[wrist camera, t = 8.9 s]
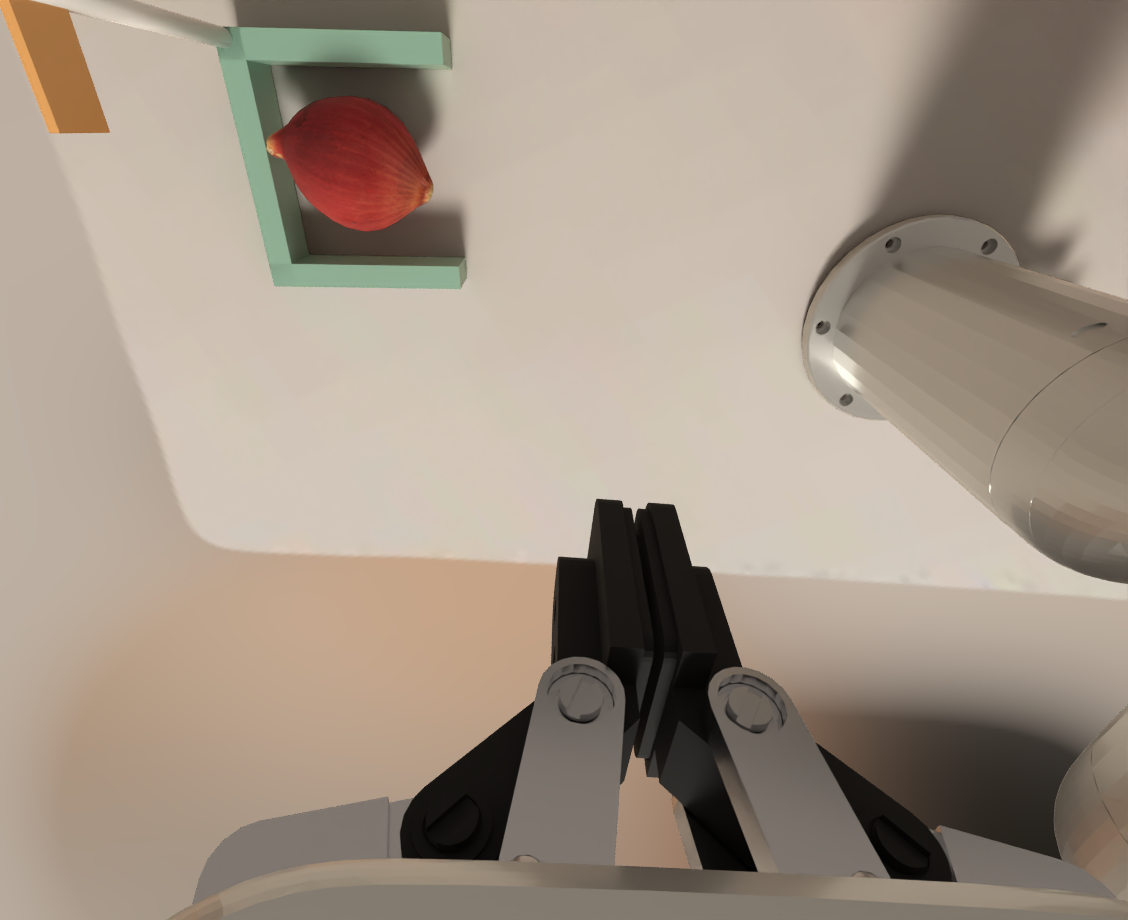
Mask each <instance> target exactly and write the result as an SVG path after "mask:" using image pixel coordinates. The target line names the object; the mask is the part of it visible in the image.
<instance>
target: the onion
mask: <svg viewBox="0 0 1128 920" xmlns="http://www.w3.org/2000/svg"><path fill="white" fill-rule="evenodd" d="M266 144H267V148H266V150H267V151H268V152H269V153H270V154H271V155H273V156H274V157H276V158H282V159H284V160H285V161H286V163H287V165H288V168H289V170H290V173H291V175H292V177H293V179H294V181H295V183H296V184H297V186H298V188H299V189H300V191H301V192H302V194H303V195H304V196H305V197H306V199H307V200H308V201H309V202H310V203H311V204H312V205H313V206H314V207H315V208H316V209H318V210H319V211H320V212H322V213H323V214H325V215H326V216H327V217H329V218H330V219H331V220H333V221H334V222H337V223H339V224H341V225H343V226H345V227H347V228H350V229H355V230H360V231H365V232H367V231H374V230H381V229H384V228H386V227H388V226H390V225H392V224H394V223H396V222H398V221H399V220H401V219H402V218H403V217H405V216H406V215H407V214H409V213H410V212H412V211H413V210H414V209H416V208H417V207H419V206H421V205H423V204H425V203H426V202H428V201H429V200H430V198H431V196H432V193H433V182H432V180H431V178H430V175H429V173H428V171H427V168H426V166H425V164H424V161H423V159H422V157H421V154H420V152H419V150H418V148H417V146H416V143H415V141H414V140H413V138H412V136H411V135H410V133H409V132H408V130H407V128H406V127H405V125H404V123H403V122H402V121H401V120H400V119H399V118H397V117H396V116H395V115H394V114H393V113H392V112H391V111H390V110H389V109H388V108H387V107H385V106H383V105H380V104H378V103H376V102H374V101H372V100H370V99H367V98H361V97H355V96H342V97H329V98H325V99H321V100H318V101H315V102H313V103H311V104H309V105H307V106H306V107H304V108H303V109H301V110H300V111H299V112H298V113H297V114H296V115H295V116H294V117H293V118H292V119H291V120H290V122H289V123H288V124H287V125H286V126H285V127H283V128H282V129H280V130H278V131H276V132H274V133H273V134H272V135H270V136H269V137H268V138H267V141H266Z"/></svg>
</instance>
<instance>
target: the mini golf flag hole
mask: <svg viewBox="0 0 1128 920" xmlns="http://www.w3.org/2000/svg"><path fill="white" fill-rule="evenodd" d="M0 8H1V10H2V13H3V15H4V18H5V20H6V23H7V25H8V28H9V31H10V33H11V36H12V38H13V41H14V43H15V46H16V48H17V51H18V54H19V56H20V59H21V61H22V64H23V66H24V69H25V71H26V74H27V77H28V79H29V82H30V84H31V87H32V89H33V92H34V94H35V97H36V100H37V102H38V105H39V107H40V110H41V112H42V115H43V117H44V120H45V123H46V125H47V128H48V130H49V133H110V131H109V128H108V125H107V122H106V119H105V116H104V114H103V111H102V108H101V105H100V102H99V99H98V96H97V93H96V90H95V87H94V84H93V81H92V79H91V76H90V73H89V70H88V67H87V64H86V61H85V58H84V55H83V52H82V49H81V47H80V44H79V41H78V38H77V35H76V32H75V29H74V26H73V23H72V20H71V17H70V15H69V12H71V13H76V14H80V15H84V16H88V17H93V18H97V19H101V20H105V21H110V22H114V23H118V24H122V25H127V26H131V27H135V28H139V29H144V30H148V31H152V32H156V33H161V34H165V35H169V36H173V37H178V38H182V39H186V40H190V41H195V42H199V43H203V44H207V45H212V46H216V47H217V51H218V55H219V59H220V63H221V67H222V71H223V76H224V80H225V84H226V88H227V92H228V96H229V100H230V104H231V109H232V113H233V117H234V121H235V125H236V129H237V133H238V137H239V141H240V146H241V150H242V154H243V158H244V162H245V166H246V170H247V174H248V179H249V183H250V187H251V191H252V195H253V199H254V203H255V207H256V212H257V216H258V220H259V224H260V228H261V232H262V236H263V240H264V245H265V249H266V253H267V257H268V261H269V265H270V269H271V273H272V278H273V282H274V286H293V287H360V288H428V289H461V287H462V285H463V284H464V282H465V280H466V264H465V257H413V256H351V255H309V252H308V248H307V243H306V238H305V233H304V228H303V223H302V218H301V214H300V209H299V204H298V199H297V194H296V189H295V184H294V180H293V177H292V175H291V173H290V170H289V168H288V165H287V163H286V161H285V160H284V159H282V158H276V157H274V156H273V155H271V154H270V153H269V152H268V151H267V150H266V148H267V144H266V141H267V138H268V137H269V136H270V135H272V134H273V133H274V132H276V131H278V130H280V129H282V128H283V126H282V121H281V116H280V111H279V107H278V102H277V97H276V92H275V87H274V82H273V77H272V73H271V68H270V65H288V66H330V67H373V68H415V69H452V62H451V48H450V39H449V38H448V37H446V36H445V35H444V34H443V33H441V32H416V31H376V30H336V29H297V28H257V27H221V26H218V25H215V24H211V23H208V22H205V21H201V20H198V19H195V18H191V17H188V16H185V15H181V14H178V13H175V12H171V11H168V10H165V9H161V8H158V7H155V6H151V5H148V4H145V3H141V2H138V1H135V0H0Z"/></svg>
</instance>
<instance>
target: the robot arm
mask: <svg viewBox="0 0 1128 920" xmlns="http://www.w3.org/2000/svg"><path fill="white" fill-rule="evenodd" d="M888 240H889V243H888V245H886V243H887V241H888ZM885 245H886V246H885ZM819 322H821V323H820V325H819V326H817V324H818V323H819ZM816 326H817V327H816ZM802 354H803V363H804V366H805V369H806V372H807V375H808V378H809V379H810V381H811V382H812V384H813V386H814V387H815V389H816V390H817V391H818V392H819V393H820V394H821V395H822V396H823V398H824V399H825V400H826V401H827V402H828V403H830V404H831V405H832V406H834V407H835V408H836V409H838V410H839V411H842V412H844V413H846V414H849V415H851V416H853V417H857V418H862V419H867V420H887V421H889V422H890V423H891V424H892V425H894V426H895V427H896V428H897V429H898V430H899V431H900V432H901V433H903V434H904V435H905V436H906V437H907V438H908V439H909V440H911V441H912V442H913V443H914V444H915V445H916V446H917V447H918V448H920V449H921V450H922V451H923V452H924V453H925V454H926V455H928V456H929V457H930V458H931V459H932V460H933V461H934V462H935V463H937V464H938V465H939V466H940V467H941V468H942V469H943V470H945V471H946V472H947V473H948V474H949V475H950V476H951V477H952V478H954V479H955V480H956V481H957V482H958V483H959V484H960V485H962V486H963V487H964V488H965V489H966V490H967V491H968V492H969V493H971V494H972V495H973V496H974V497H975V498H976V499H977V500H979V501H980V502H981V503H982V504H983V505H984V506H985V507H986V508H988V509H989V510H990V511H991V512H992V513H993V514H994V515H996V516H997V517H998V518H999V519H1000V520H1001V521H1002V522H1004V523H1005V524H1006V525H1008V526H1009V527H1010V528H1011V529H1012V530H1013V531H1015V532H1016V533H1017V534H1018V535H1019V536H1020V537H1021V538H1023V539H1024V540H1025V541H1026V542H1027V543H1028V544H1030V545H1031V546H1032V547H1034V548H1035V549H1036V550H1038V551H1039V552H1040V553H1042V554H1043V555H1045V556H1046V557H1048V558H1050V559H1051V560H1053V561H1055V562H1057V563H1058V564H1060V565H1062V566H1065V567H1067V568H1069V569H1072V570H1074V571H1077V572H1079V573H1082V574H1084V575H1087V576H1091V577H1095V578H1099V579H1103V580H1107V581H1112V582H1117V583H1124V584H1128V300H1127V299H1123V298H1120V297H1117V296H1113V295H1110V294H1107V293H1103V292H1100V291H1097V290H1093V289H1090V288H1087V287H1084V286H1080V285H1077V284H1074V283H1070V282H1067V281H1064V280H1060V279H1057V278H1054V277H1051V276H1047V275H1044V274H1041V273H1037V272H1034V271H1031V270H1027V269H1024V268H1021V266H1020V264H1019V261H1018V259H1017V256H1016V254H1015V251H1014V250H1013V248H1012V247H1011V246H1010V244H1009V243H1008V242H1007V240H1006V239H1005V238H1004V237H1003V236H1002V235H1001V234H999V233H998V232H997V231H995V230H994V229H993V228H991V227H990V226H988V225H986V224H983V223H980V222H978V221H975V220H973V219H969V218H964V217H959V216H955V215H926V216H921V217H915V218H910V219H907V220H904V221H901V222H899V223H896V224H893V225H891V226H888V227H886V228H884V229H882V230H881V231H879V232H877V233H875V234H874V235H872V236H870V237H868V238H867V239H865V240H864V241H863V242H861V243H860V244H859V245H858V246H856V247H855V248H854V249H852V250H851V251H850V252H849V253H847V254H846V256H845V257H844V258H843V259H842V260H841V261H840V262H839V263H838V264H837V265H836V266H835V267H834V268H833V269H832V270H831V272H830V273H829V275H828V276H827V277H826V279H825V280H824V282H823V283H822V285H821V286H820V287H819V289H818V291H817V293H816V295H815V297H814V299H813V301H812V303H811V305H810V307H809V310H808V313H807V317H806V320H805V324H804V327H803V337H802ZM552 620H553V621H552V654H551V656H552V657H551V666H550V667H549V668H548V669H547V670H546V671H545V672H544V673H543V675H542V677H541V680H540V682H539V685H538V689H537V694H536V698H535V701H534V702H532V703H531V704H530V705H529V706H527V707H526V708H525V709H523V710H522V711H521V712H520V713H518V714H517V715H516V716H514V717H513V718H512V719H511V720H509V721H508V722H507V723H506V724H504V725H503V726H502V727H500V728H499V729H498V730H497V731H495V732H494V733H493V734H491V735H490V736H489V737H488V738H487V739H485V740H484V741H483V742H481V743H480V744H479V745H478V746H476V747H475V748H474V749H472V750H471V751H470V752H469V753H467V754H466V755H465V756H463V757H462V758H461V759H460V760H458V761H457V762H456V763H455V764H453V765H452V766H451V767H449V768H448V769H447V770H446V771H444V772H443V773H442V774H440V775H439V776H438V777H437V778H435V779H434V780H433V781H432V782H430V783H429V784H428V785H426V786H425V787H424V788H423V789H422V790H421V791H420V792H419V793H418V794H417V795H416V796H415V797H414V798H411V799H406V800H401V801H396V802H391V803H389V799H388V797H384V798H379V799H373V800H368V801H362V802H357V803H352V804H347V805H341V806H336V807H331V808H326V809H320V810H315V811H309V812H304V813H299V814H294V815H288V816H283V817H278V818H272V819H267V820H262V821H258V822H255V823H252V824H250V825H247V826H244V827H241V828H240V829H238V830H237V831H236V832H234V833H233V834H231V835H230V836H229V837H228V838H226V839H224V840H223V841H222V842H221V844H220V845H219V846H218V847H217V848H216V850H215V851H214V852H213V853H212V855H211V856H210V857H209V858H208V860H207V862H206V864H205V867H204V869H203V871H202V873H201V876H200V878H199V881H198V885H197V888H196V892H195V896H194V900H193V903H192V905H191V906H189V907H187V908H185V909H184V910H182V911H180V912H178V913H176V914H175V915H173V916H172V917H170V918H169V919H167V920H1128V705H1127V706H1126V707H1125V708H1124V709H1123V710H1122V711H1121V712H1120V713H1119V714H1118V715H1117V716H1116V717H1115V718H1114V719H1113V720H1112V721H1111V722H1110V723H1109V724H1108V725H1107V726H1106V727H1105V728H1104V729H1103V730H1102V731H1101V732H1100V733H1099V735H1098V736H1097V737H1096V738H1095V739H1094V740H1093V741H1092V742H1091V743H1090V744H1089V745H1088V746H1087V747H1086V749H1085V750H1084V751H1083V752H1082V754H1081V755H1080V756H1079V757H1078V759H1077V760H1076V761H1075V762H1074V764H1073V765H1072V766H1071V767H1070V769H1069V770H1068V772H1067V774H1066V776H1065V778H1064V779H1063V781H1062V783H1061V786H1060V788H1059V791H1058V795H1057V798H1056V801H1055V802H1056V803H1055V813H1054V826H1055V835H1056V839H1057V843H1058V847H1059V850H1060V854H1061V857H1062V860H1059V859H1056V858H1052V857H1049V856H1045V855H1042V854H1038V853H1034V852H1031V851H1028V850H1024V849H1021V848H1017V847H1013V846H1010V845H1006V844H1003V843H1000V842H996V841H993V840H989V839H985V838H982V837H978V836H975V835H972V834H968V833H964V832H961V831H958V830H954V829H951V828H947V827H944V826H938V828H937V829H936V830H935V831H934V830H930V829H928V827H927V826H926V825H924V824H923V823H922V822H921V821H920V820H919V819H918V818H917V817H915V816H914V815H913V814H912V813H911V812H910V811H908V810H907V809H905V808H904V807H903V806H901V805H900V804H899V803H897V802H896V801H894V800H893V799H892V798H891V797H889V796H888V795H886V794H885V793H884V792H882V791H881V790H880V789H878V788H877V787H875V786H874V785H873V784H871V783H870V782H869V781H867V780H866V779H865V778H863V777H862V776H861V775H859V774H858V773H857V772H855V771H854V770H852V769H851V768H850V767H848V766H847V765H845V764H844V763H843V762H842V761H840V760H839V759H837V758H836V757H835V756H833V755H832V754H831V753H829V752H828V751H827V750H825V749H824V748H822V747H821V746H820V745H818V744H817V743H816V742H815V741H814V739H813V738H812V736H811V734H810V732H809V730H808V729H807V727H806V725H805V723H804V721H803V720H802V718H801V716H800V714H799V713H798V711H797V709H796V707H795V705H794V703H793V702H792V700H791V698H790V697H789V696H788V694H787V693H786V692H785V690H784V689H783V688H782V687H781V686H780V685H779V684H778V683H776V682H775V681H774V680H773V679H772V678H770V677H768V676H766V675H764V674H763V673H761V672H759V671H756V670H752V669H749V668H743V667H742V665H741V662H740V659H739V656H738V653H737V650H736V647H735V644H734V641H733V637H732V634H731V632H730V628H729V625H728V622H727V619H726V616H725V613H724V610H723V607H722V604H721V601H720V598H719V595H718V592H717V589H716V585H715V583H714V580H713V576H712V574H711V572H710V570H709V569H708V568H707V567H697V566H692V564H691V561H690V557H689V554H688V550H687V547H686V543H685V540H684V536H683V533H682V529H681V526H680V522H679V519H678V515H677V512H676V508H675V506H674V505H671V504H658V503H648V504H647V506H646V509H638V510H637V513H636V518H635V523H634V520H633V514H632V509H631V508H623V503H622V501H619V500H606V499H596V502H595V508H594V515H593V522H592V529H591V536H590V543H589V550H588V557H587V559H585V558H571V557H558V561H557V570H556V579H555V589H554V601H553V619H552ZM633 745H634V753H635V756H636V757H637V758H644V759H645V767H646V775H647V777H658V778H659V783H660V784H661V785H662V786H663V787H664V788H666V789H667V790H668V791H669V792H670V793H671V794H672V805H673V812H674V815H675V818H676V822H677V825H678V829H679V832H680V836H681V839H682V842H683V846H684V849H685V852H686V856H687V859H688V862H689V866H690V869H680V868H658V867H657V868H656V867H636V866H614V865H615V850H616V849H615V848H616V835H617V819H618V804H619V789H620V784H622V783H623V781H624V779H625V775H626V771H627V767H628V763H629V759H630V755H631V752H632V748H633Z"/></svg>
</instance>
